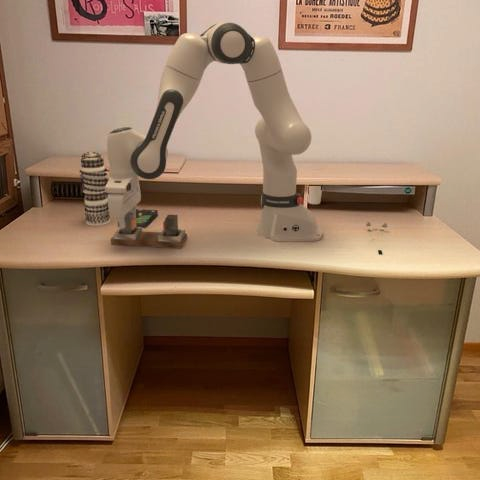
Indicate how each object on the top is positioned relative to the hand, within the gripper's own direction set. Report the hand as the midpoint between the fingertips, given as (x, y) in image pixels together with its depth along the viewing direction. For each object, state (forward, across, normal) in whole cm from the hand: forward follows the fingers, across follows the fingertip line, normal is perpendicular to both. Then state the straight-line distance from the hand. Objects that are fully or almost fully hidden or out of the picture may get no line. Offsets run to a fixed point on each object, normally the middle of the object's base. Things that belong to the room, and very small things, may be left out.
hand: (127, 222), depth 153 cm
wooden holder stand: (+6, 0, +7) cm, 9 cm away
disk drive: (+7, -20, -3) cm, 22 cm away
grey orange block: (+4, 0, 0) cm, 4 cm away
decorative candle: (+6, -17, -17) cm, 25 cm away
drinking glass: (+7, -53, +62) cm, 82 cm away
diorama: (+7, -13, +82) cm, 83 cm away
